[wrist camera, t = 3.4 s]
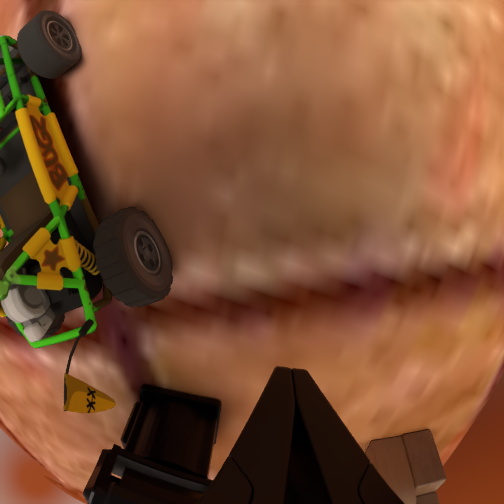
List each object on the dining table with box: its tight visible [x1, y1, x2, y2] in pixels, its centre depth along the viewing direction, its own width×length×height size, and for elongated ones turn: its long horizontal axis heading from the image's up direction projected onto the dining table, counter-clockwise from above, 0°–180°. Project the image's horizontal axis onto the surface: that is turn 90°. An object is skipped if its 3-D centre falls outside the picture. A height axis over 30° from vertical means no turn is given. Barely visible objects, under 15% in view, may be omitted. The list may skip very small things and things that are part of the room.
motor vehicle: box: [0, 11, 173, 413], centre depth 12 cm, size 12×19×11 cm, turn 23°
